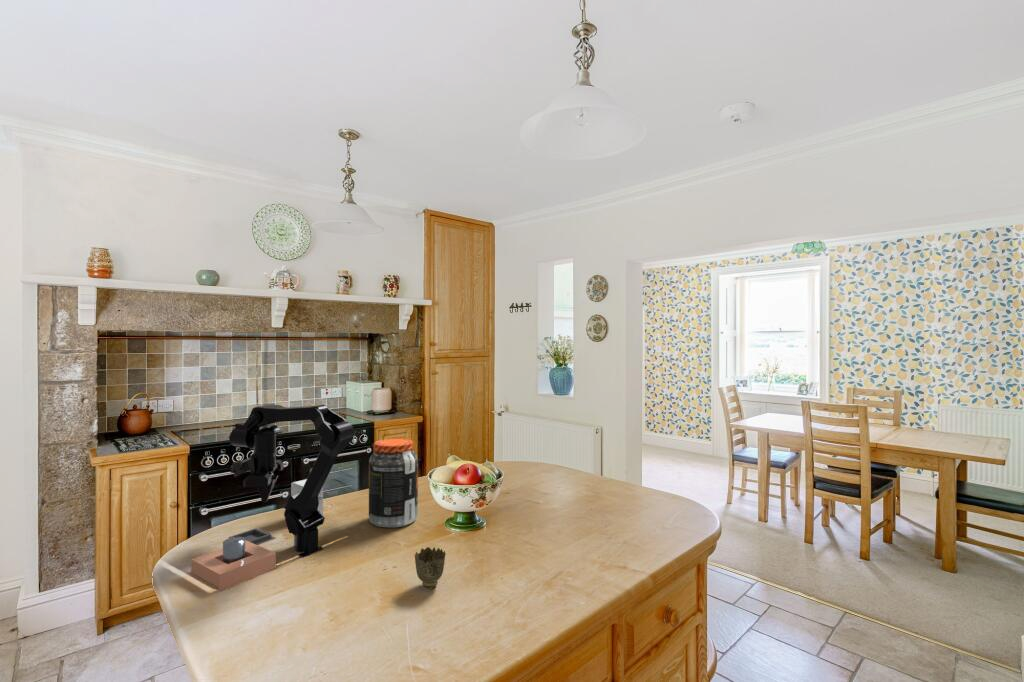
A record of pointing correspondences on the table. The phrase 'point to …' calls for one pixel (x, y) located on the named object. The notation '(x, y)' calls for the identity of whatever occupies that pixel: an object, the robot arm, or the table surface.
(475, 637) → the table surface
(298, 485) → the supplement box
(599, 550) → the table surface
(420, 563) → the cup
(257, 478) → the robot arm
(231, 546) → the steel peg
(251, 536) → the stand
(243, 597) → the table surface
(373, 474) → the supplement tub
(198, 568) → the hub block
